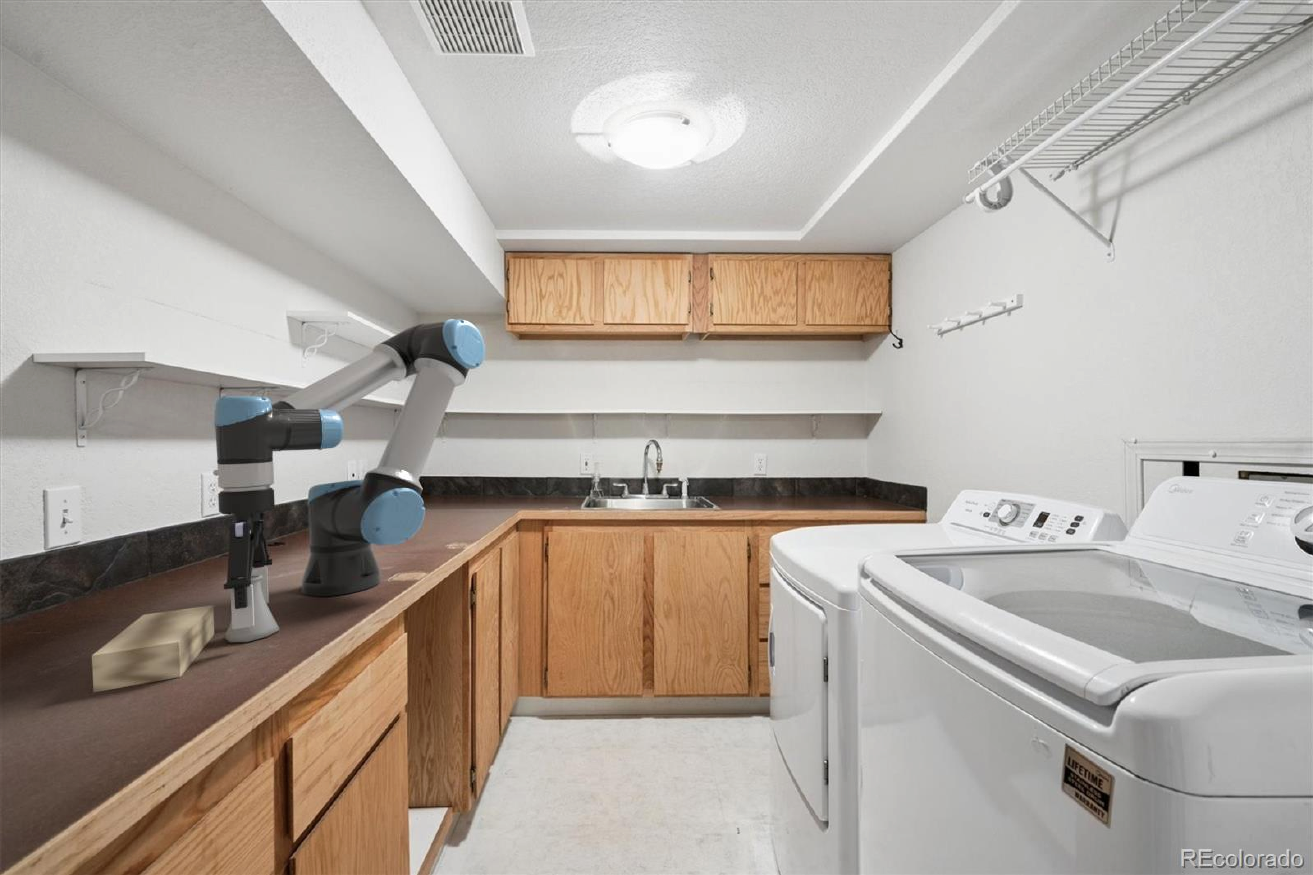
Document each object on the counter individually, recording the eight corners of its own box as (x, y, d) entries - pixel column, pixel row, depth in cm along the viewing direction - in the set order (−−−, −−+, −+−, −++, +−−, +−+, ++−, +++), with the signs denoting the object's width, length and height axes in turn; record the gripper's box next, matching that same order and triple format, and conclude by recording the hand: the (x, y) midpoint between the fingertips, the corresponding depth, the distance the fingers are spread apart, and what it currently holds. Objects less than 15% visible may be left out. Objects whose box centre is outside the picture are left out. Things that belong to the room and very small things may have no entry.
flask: (215, 641, 90) (212, 581, 89) (260, 625, 96) (257, 569, 96) (244, 646, 87) (242, 585, 87) (288, 630, 94) (286, 572, 94)
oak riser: (214, 634, 93) (213, 605, 93) (180, 676, 77) (178, 641, 77) (144, 645, 89) (143, 614, 88) (93, 692, 73) (91, 655, 72)
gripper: (235, 483, 100) (240, 598, 101) (196, 498, 79) (202, 644, 79) (284, 480, 104) (288, 591, 104) (259, 494, 82) (265, 634, 83)
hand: (251, 614), depth 92 cm, fingers open, 12 cm apart
